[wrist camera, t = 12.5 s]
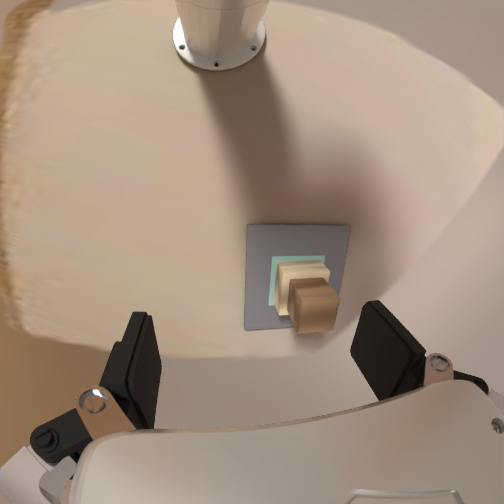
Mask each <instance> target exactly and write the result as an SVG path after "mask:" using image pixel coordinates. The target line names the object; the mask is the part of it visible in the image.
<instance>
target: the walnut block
mask: <svg viewBox="0 0 504 504" xmlns="http://www.w3.org/2000/svg"><path fill="white" fill-rule="evenodd" d="M339 301H340V298H339V296H338V295H337V294H336V293H335V291H334V290H333V289H332V288H331V286H330V285H329V284H328V283H327V282H326V280H325V279H324V278H323V277H321V278H303V279H290V283H289V293H288V302H287V311H288V313H289V316H290V318H291V320H292V322H293V324H294V327H295V329H296V331H297V333H298V334H305V333H313V332H322V331H330V330H333V328H334V324H335V319H336V315H337V310H338V306H339Z"/></svg>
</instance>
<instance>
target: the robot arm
mask: <svg viewBox="0 0 504 504" xmlns="http://www.w3.org/2000/svg"><path fill="white" fill-rule="evenodd" d="M269 1H270V0H175V2H176V6H177V10H178V14H179V18H178V19H177V21H176V23H175V25H174V29H173V42H174V46H175V48H176V51H177V52H178V53H179V55H180V56H181V57H182V58H183V59H184V60H185V61H186V62H188V63H189V64H191V65H193V66H195V67H198V68H201V69H205V70H213V71H221V70H229V69H233V68H236V67H239V66H241V65H243V64H245V63H247V62H248V61H250V60H251V59H252V58H253V57H254V56H255V55H256V54H257V53H258V52H259V50H260V49H261V47H262V45H263V43H264V39H265V26H264V23H263V20H262V16H263V14H264V12H265V10H266V7H267V5H268V3H269ZM182 48H184V50H181V49H182ZM251 49H254V50H255V51H252V50H251ZM215 64H218V66H217V67H216V66H215ZM350 352H351V356H352V358H353V359H354V361H355V362H356V364H357V366H358V367H359V369H360V370H361V372H362V374H363V375H364V377H365V379H366V380H367V382H368V384H369V385H370V387H371V388H372V390H373V392H374V393H375V395H376V397H377V398H378V400H379V401H378V402H375V403H371V404H368V405H364V406H361V407H357V408H353V409H349V410H345V411H341V412H337V413H332V414H327V415H323V416H317V417H312V418H307V419H301V420H295V421H289V422H281V423H274V424H266V425H257V426H246V427H233V428H212V429H211V428H210V429H154V422H155V413H156V405H157V397H158V390H159V383H160V376H161V369H162V365H161V359H160V355H159V350H158V346H157V341H156V336H155V331H154V325H153V320H152V316H151V315H147V312H133V313H132V315H131V318H130V320H129V323H128V325H127V328H126V331H125V333H124V336H123V339H122V341H121V342H118V341H117V342H115V344H114V346H113V348H112V351H111V353H110V356H109V359H108V361H107V364H106V367H105V370H104V372H103V375H102V378H101V381H100V384H99V386H90V387H87V388H85V389H83V390H81V391H80V392H79V393H78V394H77V396H76V398H75V406H76V408H74V409H72V410H70V411H69V412H66V413H65V414H63V415H61V416H59V417H57V418H55V419H53V420H51V421H49V422H47V423H45V424H43V425H40V426H39V427H37V428H36V429H35V430H34V431H33V432H32V434H31V437H30V444H31V445H30V446H28V447H27V448H26V447H25V446H24V447H23V448H21V450H19V451H18V452H17V453H16V454H15V455H14V456H13V457H12V458H11V459H10V460H9V461H8V462H7V463H6V464H5V465H4V466H3V467H2V468H0V490H1V491H2V493H3V494H4V496H5V497H6V498H7V499H8V501H9V502H10V503H11V504H61V503H60V500H59V497H60V493H61V491H62V490H63V489H64V488H65V487H66V486H65V485H64V484H65V483H66V482H67V481H68V480H69V479H73V480H72V485H71V490H70V496H69V502H68V504H504V396H502V395H501V394H499V393H497V392H495V391H493V390H492V389H491V390H490V392H489V389H488V386H487V384H486V383H485V381H484V380H483V379H481V378H478V377H475V376H472V375H468V374H465V373H461V372H458V371H454V370H453V364H452V362H451V360H450V359H448V357H446V356H445V355H442V354H439V353H432V354H430V355H428V356H427V358H426V357H425V353H426V350H425V349H424V347H422V345H421V344H420V343H419V342H418V341H417V340H416V339H415V338H414V337H413V335H411V333H410V332H409V331H408V330H407V329H406V328H405V327H404V326H403V325H402V324H401V323H400V321H399V320H398V319H397V318H396V317H395V316H394V315H393V314H392V313H391V312H390V311H389V310H388V309H387V308H386V307H385V306H384V305H383V304H382V303H381V302H380V301H379V300H375V301H368V302H366V304H365V305H364V306H363V308H362V311H361V315H360V318H359V322H358V326H357V329H356V333H355V336H354V339H353V342H352V346H351V349H350Z"/></svg>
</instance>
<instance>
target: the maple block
mask: <svg viewBox="0 0 504 504" xmlns="http://www.w3.org/2000/svg"><path fill="white" fill-rule="evenodd" d="M329 275H330V270H329V269H328V268H327V267H326V266H325V265H324V264H323V263H322V261H321V260H307V261H277V265H276V277H275V289H274V301H273V302H274V304H275V307H276V309H277V312H278V314H279V315H289V313H288V311H287V302H288V293H289V283H290V279H303V278H321V277H323V278H324V279H325V280H326V282H327V283H328V281H329Z"/></svg>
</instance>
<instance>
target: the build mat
mask: <svg viewBox="0 0 504 504" xmlns="http://www.w3.org/2000/svg"><path fill="white" fill-rule="evenodd" d="M349 233H350V226H347V225H291V224H247V251H246V282H245V315H244V330H254V329H270V328H284V327H294V324H293V322H292V320H291V318H290V316H289V315H279V314H278V312H277V309H276V307H275V304H274V302H273V301H274V289H275V277H276V265H277V261H307V260H321V261H322V263H323V264H324V265H325V266H326V267H327V268H328V269H329V270H330V275H329V281H328V284H329V285H330V286H331V288H332V289H333V290H334V291H335V293H336V294H337V295H339V290H340V285H341V280H342V275H343V269H344V264H345V258H346V252H347V246H348V239H349Z"/></svg>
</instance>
